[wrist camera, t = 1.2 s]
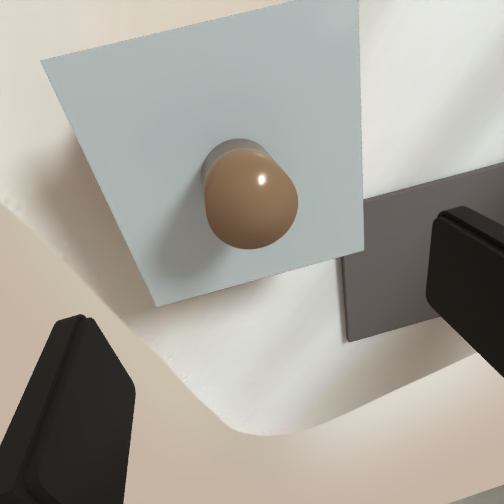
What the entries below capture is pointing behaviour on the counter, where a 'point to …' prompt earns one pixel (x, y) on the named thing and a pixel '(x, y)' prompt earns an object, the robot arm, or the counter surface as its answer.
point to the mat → (408, 249)
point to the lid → (226, 143)
